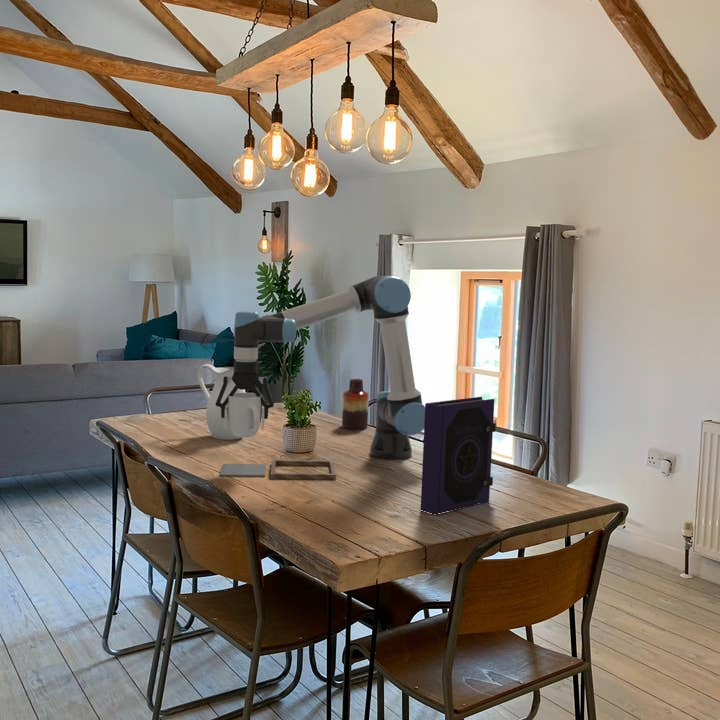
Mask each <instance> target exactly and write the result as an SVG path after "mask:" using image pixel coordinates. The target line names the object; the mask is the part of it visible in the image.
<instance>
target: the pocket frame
mask: <svg viewBox="0 0 720 720" xmlns="http://www.w3.org/2000/svg"><path fill="white" fill-rule="evenodd" d="M276 466H301V467H302V466H304V467H305V466H308V467H309V466H310V467H311V466H312V467H313V466H314V467H315V466H317V467H329V471H330V473H307V472H306V473H304V472H303V473H301V472H300V473H298V472H297V473H296V472H294V473H292V472H290V473H289V472H276ZM276 479H277V480H282V479H283V480H337V472H336V468H335V462H334V460H316V459H315V460H313V459H312V460H311V459H310V460H309V459H308V460H306V459H304V460H303V459H302V460H301V459H300V460H298V459H295V460H293V459H272V460H271V467H270V480H276Z"/></svg>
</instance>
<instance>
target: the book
mask: <svg viewBox="0 0 720 720" xmlns="http://www.w3.org/2000/svg"><path fill="white" fill-rule="evenodd" d="M424 406H425V421H424V430H423V449H422V471H421V489H420V491H421V495H420V511H421V510H423V511H426V512H429V513H432V514H438V513H442V512H446V511H451V510H455V509H459V508H462V509H464V508H463V507H466V508H468V507H467V506H470V507H472V506H471V505H474V504H478V503H481V504H483V503H482V502H485V503H488V502H487V501H489V502H490V495H491V494H490V493H491V492H490V491H491V486H493V484H494V483H493V482H494V477H493V476H491V472H492V456H493V455H492V453H493V438H494V437H493V435H494V433H496V429H497V423H494V419H495V417H494V416H495V415H494V414H495V398H489V399H488V398H487V399H483V396H475V397H474V396H473V397H468V398H467V397H466V398H465V397H464V398H459V399H458V398H457V399H451V400H449V399H448V400H441V401H435V402H426V403H425V405H424ZM478 505H479V504H478ZM474 506H475V505H474ZM459 510H460V509H459ZM423 511H422V512H423ZM455 511H456V510H455ZM451 512H452V511H451Z"/></svg>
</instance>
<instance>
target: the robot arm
mask: <svg viewBox="0 0 720 720" xmlns="http://www.w3.org/2000/svg"><path fill="white" fill-rule="evenodd" d="M411 293H412V292H411V289H410V287H409V285H408V284H407V282H405V281H404V280H403V279H402V278H400V277H397V276H393V275H377V276H373V277H371V278H368V279H366V280H363V281H361V282H358V283H355V284H352V285H350V286H349V287H348V289H347V290H343V291H341V292H338V293H335V294H330V295H329V296H326V297H323V298H320V299H319V298H318V299H316V300H314V301H310V302H307V303H304V304H301V305H298V306H295V307H292V308H288V309H285V310H283V311H280V312H276V313H273V314H269V315H268V314H266V315H263V316H261V317H260V315H259V312H258V311H248V310H247V311H241V310H240V311H237V312H236V313H235V315H234V316H235V317H234V325H233V327H234V333H233V334H234V335H233V336H234V337H233V339H234V342H233V345H234V346H233V348H234V349H233V359H234V361H233V368H234V374H233V376H224V378H223V386H222V388H221V391H220V394H219V396H218V399H217V401H216V404H215V405H216V406H218V407H220V408H221V418H225V421H224V429H227V424H228V407H225V406H226V405H227V404H228V402H229V396H233V395H234V394H235V392H236V391H237V389H240V390H244V389H245V391H250V390H252V392H253V393H255V394H256V396H257V397H261V404H262V418H261V430H262V431H263V430H265V420H268V418H269V410H270V409H271V408H274V407H275V402H274V401H273V397H272V394H271V391H270V388H269V385H268V377H267V376H264V377H263V376H259V375H258V369H259V367H258V365H259V362H258V361H257V360H258V359H259V342H260V343H263V342H264V343H265V342H267V343H292V342H294V341H296V337H297V330H301V329H303V328H307V327H310V326H312V325H315V324H319V323H322V322H325V321H327V320H332V319H334V318H337V317H341V316H343V315H346V314H349V313H352V312H356V313H357V314H358V313H362V312H364V311H365V312H366V311H370V310H371V311H373V318H374V320H375V321H376V322H377V323H379V326H380V333H381V338H382V339H381V340H382V346H383V352H384V359H385V366H386V371H387V376H388V377H387V378H388V383H389V385H388V386H389V391H379V392H378V393H377V395H376V400H375V407H376V408H375V431H374V432H375V433H374V436H373V438H372V442H371V444H370V447H369V455H371V456H373V457H375V458H381V459H386V460H400V459H401V460H402V459H407V458H411V457H412V454H413V448H412V445H411V441H410V438H409V437H410V436H415V435H418V434H420V433H421V432H424V421H425V405H424V404H423V399H422V394H421V391H419V390H418V389H417V388H416V384H415V377H414V371H413V370H414V369H413V363H412V357H411V350H410V344H409V342H410V341H409V337H408V331H407V329H408V328H407V325H406V324H407V323H406V319H407V317H408V316H409V315H410V314H409V305H410V302H411V299H412V298H411V297H412V296H411V295H412V294H411ZM231 380H233V382H234V383H235V387H234V388H233V390H232V391H231V392H230V394H229V395H228V397H227V398H226V399H225V401H224V402H223V403H221V400H222V397H223V394H224V392H225V389H226V387H227V384H228V383H230V381H231ZM258 382H260V384H261V385H263V389H264V392H265V396H266V397H267V401H268V403H267V401H266V400H265V398H264V396H263V395H262V394H261V392H260V390H259V389H258V387H257V383H258Z"/></svg>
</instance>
